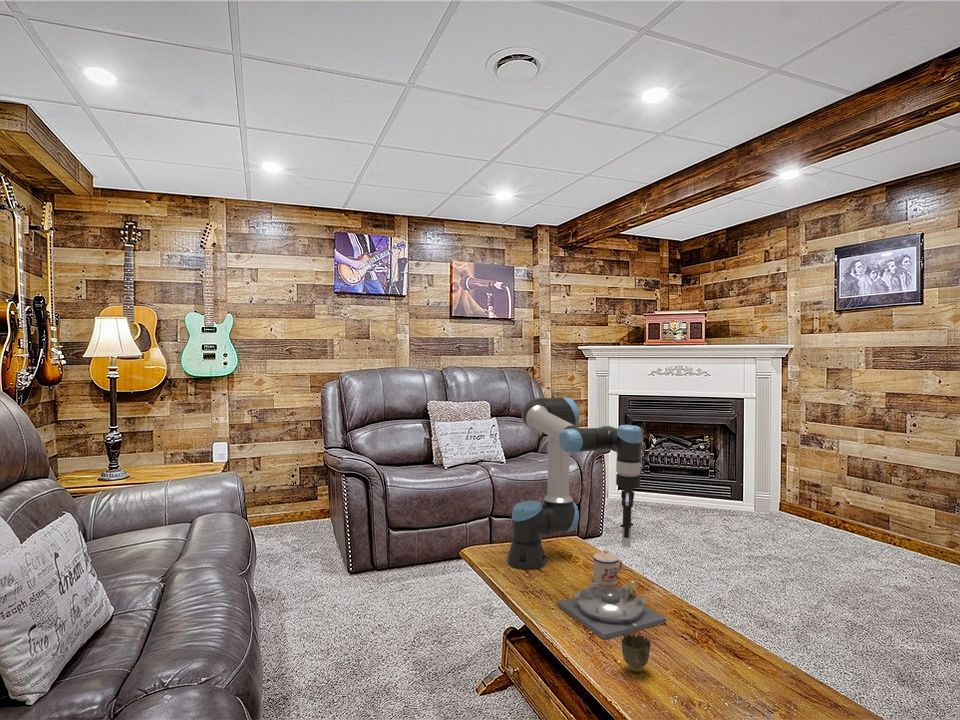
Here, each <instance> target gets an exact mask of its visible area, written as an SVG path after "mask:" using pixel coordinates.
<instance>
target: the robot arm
mask: <svg viewBox="0 0 960 720" xmlns="http://www.w3.org/2000/svg"><path fill="white" fill-rule="evenodd" d="M521 419H522V421H523V423H524V424H525V425H526V427H528V428H530V429H532V430H535V431H540V432H542V433H543V434H545V435H547V494H546V495H545V496H544V497H543V502H541V501H540V500H539V501H538V500H534V499H533V500H523V501H519V502H517V503H516V504H515V505H514V506H513V507H512V512H511V513H512V514H511V543H510V547H509V550H508V552H507V557H506V558H507V561H506V562H508V563H507V564H508V565H509V566H510V565H511V566H510V567H512V566H513V568H515V569H519V570H537V569H540V568H541V569H542V568H543V567H545V566H546V565H547V563H546V562H547V559H546V554H545V551H544V548H543V544H542V541H543V539H542V537H543V536H545V535H554V534H565V533H569V532H573V531H574V530H575V529H576V528H577V526H578V523H579V519H580V513H579V510H578V509H579V508H578V505H577V504H576V503H575V502H574V498H572V496H570V453H581V452H596V451H597V452H598V451H599V452H600V451H613V452H615V453H616V467H615V468H616V469H615V471H616V474H615V479H616V480H615V485H616V486H617V487H620V488H623V489H622V490H621V506H622V523H621V524H620V528H621V529H622V531H621V547H622V548H629V549H630V548H632V547H631V546H632V545H631V544H632V541H631V540H632V526H634V523H632V508H633V507H634V499H635V498H634V497H635V491H634V490H632V489H638V488H640V486H641V475H640V474H641V468H643V464H641V461H642V442H643V438H642V429H641V427H640V426H638V425H632V424H621V425H619V426H618V427H617V428H616V427H614V426H612V425H611V426H610V425H608V426H607V425H602V426H599V427H591V428H590V427H589V428H588V427H587V428H583V427H582V428H581V427H579V426H577V425H578V424H579V421H580V411H579V408H578V406H577V403H576V402H575V400H573V399H572V398H570V397H560V396H559V397H537V398H533V399H530V400H529V401H528V402H526V403H525V404H524V406H523V407H522V410H521Z"/></svg>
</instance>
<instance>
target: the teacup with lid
mask: <svg viewBox="0 0 960 720" xmlns="http://www.w3.org/2000/svg"><path fill="white" fill-rule="evenodd" d="M592 558H593V569H592V570H593V572H592V573H593V579H592V580H593V582H597V583H598V584H599V585H598V586H610V587H615V586H616V585H617V584H618V579H619V578H618V577H619V576H618V575H619V573H621V571H622V570H623V566H624V563H623V561H622V560H621V559H619V557H618V556H617V555H616V554H614V553H612V552H610V551H609V549H608V548H604V549H602V551H600V552H596V553H594V554H593V556H592Z"/></svg>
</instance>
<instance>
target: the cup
mask: <svg viewBox="0 0 960 720" xmlns="http://www.w3.org/2000/svg"><path fill="white" fill-rule="evenodd" d="M622 636H623V637H622V638H621V639H620V640H621V651H622V657H623V661H625V664H627V667H628V670H629V671H630V672H632V673H633V674H634V673H635V674H640V673H642V672H643V669H644V668H643V667H645V666H646V665H647V663H648V661H649V657H650V651H651V640H650V639H648V637H647V636H646V637H644V635H641V634H637V635H636V634H635V633H633V634H631V633H628V634H624V635H622Z"/></svg>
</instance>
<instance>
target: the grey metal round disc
mask: <svg viewBox="0 0 960 720" xmlns="http://www.w3.org/2000/svg"><path fill="white" fill-rule="evenodd" d="M575 597H577V598H578V608H579V610H580V611H581V612H582V613H583V614H584V615H586V616H587V617H589V618H591V619H594V620H597V621H600V622H605V623H612V624H625V623H631V622H634V621H637V620H639V619H640V618H641V617H642V615H643V605H645V606H646V605H647V604H648V600H647V599H648V598H646V597H640V596H639V595H638V594H637V580H636V579H633V578H630V579H628V585H626V584H623V585H621V588H620V587H616V586H602V585H599V584H598V583H597V582H594V581H593V582H589V587H587V588H585V589H582V590H581V591H577V590H575V591H574V598H575Z"/></svg>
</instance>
